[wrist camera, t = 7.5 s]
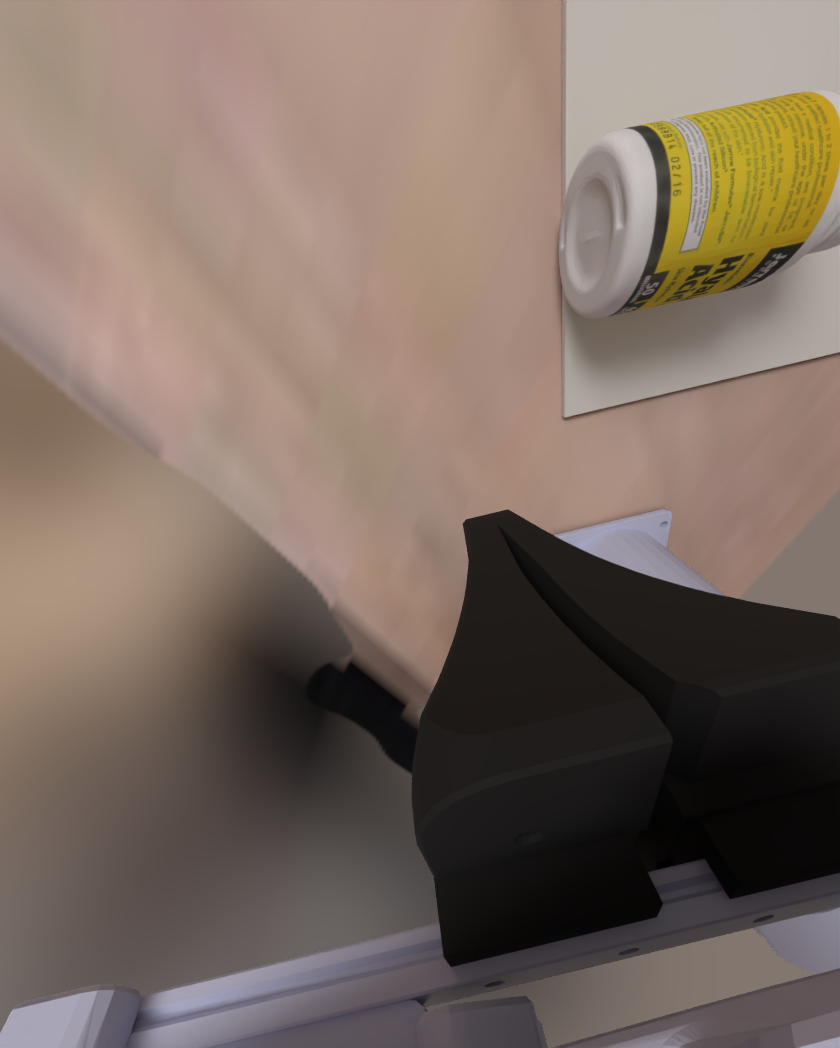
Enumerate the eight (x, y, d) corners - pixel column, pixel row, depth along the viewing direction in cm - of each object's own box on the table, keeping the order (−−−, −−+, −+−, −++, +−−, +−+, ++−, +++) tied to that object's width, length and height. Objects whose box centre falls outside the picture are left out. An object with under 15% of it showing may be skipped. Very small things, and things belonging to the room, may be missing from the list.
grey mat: (848, 347, 20) (855, 348, 20) (562, 416, 20) (564, 417, 20) (1030, -141, 12) (1044, -150, 12) (562, -31, 12) (566, -38, 12)
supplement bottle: (632, 307, 12) (924, 241, 12) (631, 85, 10) (978, 7, 10) (559, 332, 17) (765, 285, 17) (549, 187, 15) (781, 135, 15)
